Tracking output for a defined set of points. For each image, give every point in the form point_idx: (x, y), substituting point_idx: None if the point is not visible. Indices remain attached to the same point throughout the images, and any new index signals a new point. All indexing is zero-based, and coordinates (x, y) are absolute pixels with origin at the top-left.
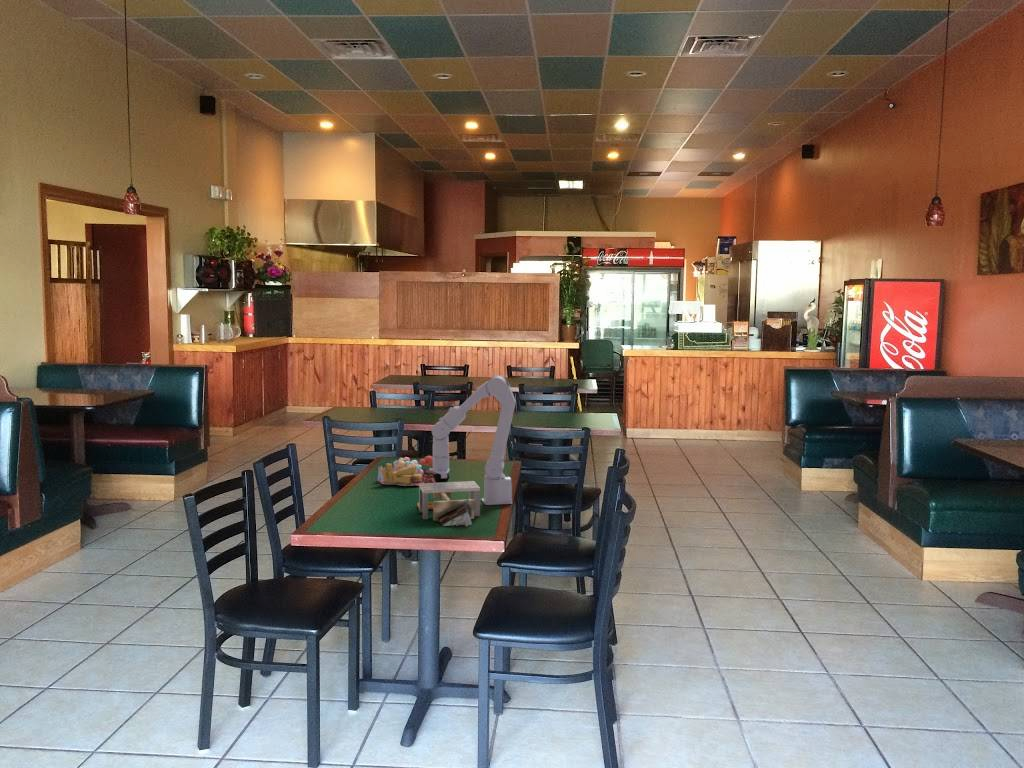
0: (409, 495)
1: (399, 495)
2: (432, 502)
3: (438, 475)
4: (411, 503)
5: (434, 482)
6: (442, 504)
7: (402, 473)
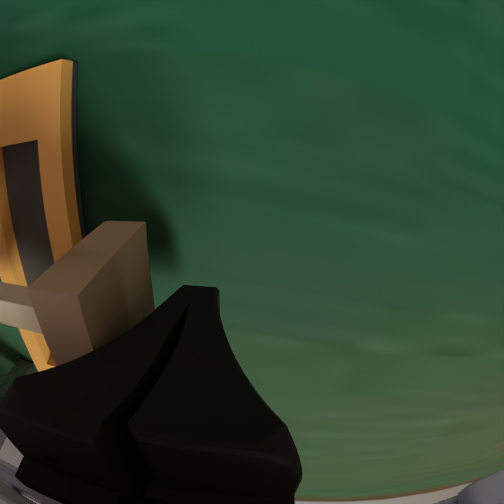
0: (478, 76)
1: (486, 14)
2: (54, 192)
3: (55, 467)
4: (188, 12)
5: None
6: None
7: None
